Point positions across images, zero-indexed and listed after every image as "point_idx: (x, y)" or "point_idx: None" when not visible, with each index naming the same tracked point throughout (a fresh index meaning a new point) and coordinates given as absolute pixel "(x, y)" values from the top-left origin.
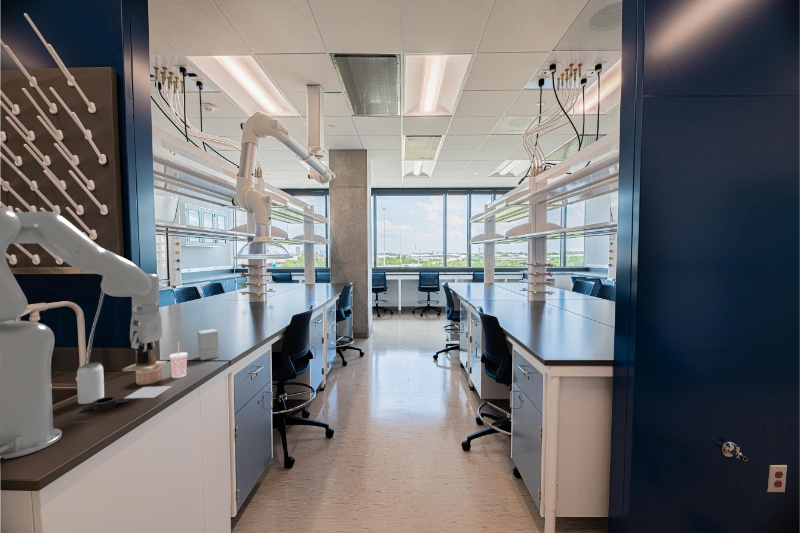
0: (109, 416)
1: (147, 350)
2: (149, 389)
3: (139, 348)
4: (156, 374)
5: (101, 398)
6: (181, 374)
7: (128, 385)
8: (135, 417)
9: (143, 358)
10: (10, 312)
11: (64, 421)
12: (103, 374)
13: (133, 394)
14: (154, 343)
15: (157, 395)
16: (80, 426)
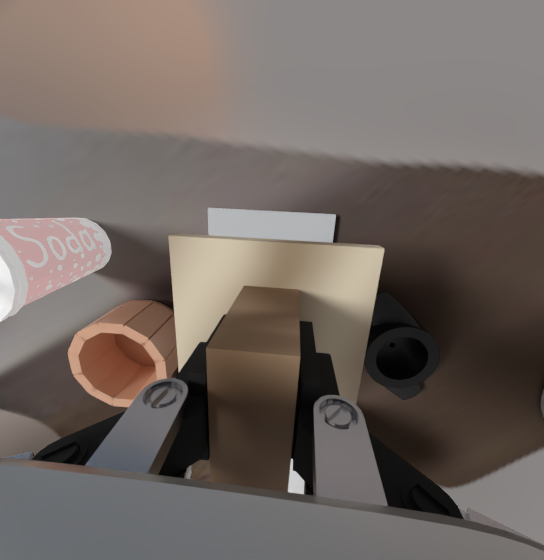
0: (473, 287)
1: (266, 408)
2: None
3: (445, 495)
4: (141, 316)
5: (379, 379)
6: (87, 227)
7: None
8: (526, 181)
9: (330, 364)
10: None
11: (463, 394)
12: (297, 476)
13: None
14: (120, 439)
15: (315, 213)
16: (528, 330)
